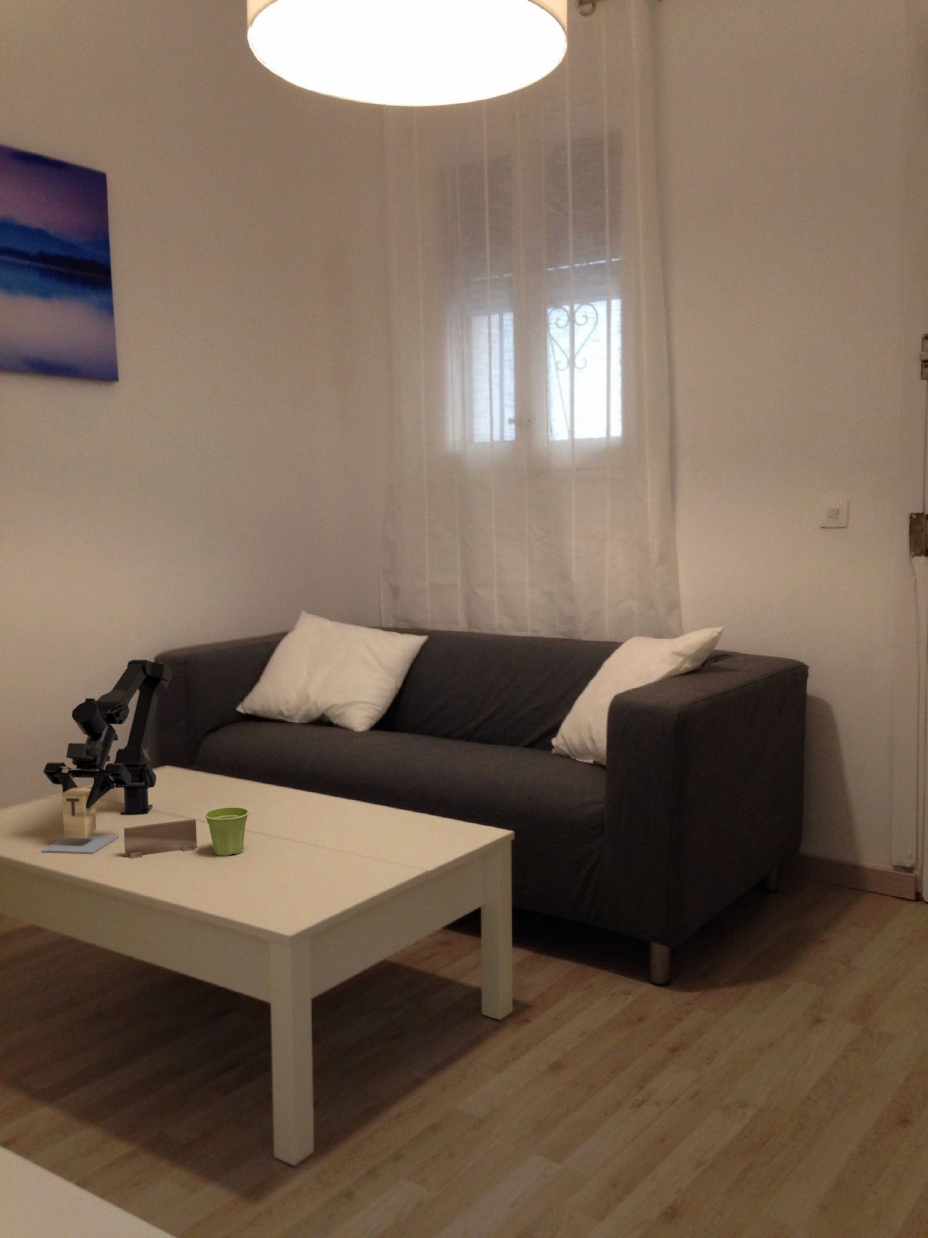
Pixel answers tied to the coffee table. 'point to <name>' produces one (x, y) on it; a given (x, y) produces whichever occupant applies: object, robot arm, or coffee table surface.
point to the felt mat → (80, 844)
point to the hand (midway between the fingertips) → (75, 807)
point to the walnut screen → (160, 838)
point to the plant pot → (227, 829)
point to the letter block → (78, 814)
